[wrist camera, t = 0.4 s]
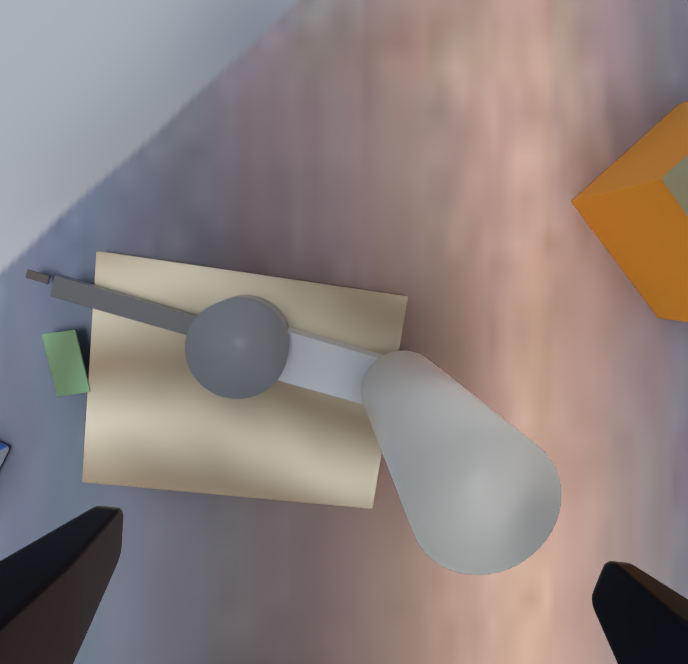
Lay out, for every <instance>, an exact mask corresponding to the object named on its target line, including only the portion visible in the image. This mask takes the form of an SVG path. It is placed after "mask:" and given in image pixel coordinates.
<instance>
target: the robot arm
mask: <svg viewBox="0 0 688 664" xmlns="http://www.w3.org/2000/svg"><path fill="white" fill-rule="evenodd" d="M122 530H123V512H122V510H121V509H120V508H116V507H107V506H96V507H94V508H92V509H90V510H88V511H86V512H85V513H83V514H81V515H79V516H78V517H76V518H74V519H72V520H71V521H69V522H67V523H66V524H64V525H62V526H60V527H59V528H57V529H55V530H53V531H52V532H50V533H48V534H46V535H45V536H43V537H41V538H39V539H38V540H36V541H34V542H32V543H31V544H29V545H27V546H26V547H24V548H22V549H20V550H19V551H17V552H15V553H13V554H12V555H10V556H8V557H6V558H5V559H3V560H1V561H0V664H73V662H74V660H75V658H76V656H77V654H78V651H79V649H80V647H81V645H82V643H83V640H84V638H85V636H86V633H87V631H88V629H89V627H90V624H91V622H92V620H93V618H94V615H95V613H96V611H97V608H98V606H99V604H100V602H101V599H102V597H103V595H104V593H105V590H106V588H107V586H108V583H109V581H110V579H111V577H112V574H113V572H114V570H115V568H116V565H117V563H118V560H119V557H120V553H121V547H122ZM592 604H593V608H594V610H595V613H596V615H597V617H598V620H599V622H600V624H601V626H602V629H603V631H604V633H605V635H606V638H607V640H608V642H609V645H610V647H611V649H612V651H613V654H614V656H615V658H616V661H617V663H618V664H688V599H686V598H685V597H683V596H681V595H680V594H678V593H677V592H675V591H674V590H672V589H670V588H669V587H667V586H666V585H664V584H662V583H661V582H659V581H658V580H656V579H655V578H653V577H651V576H650V575H648V574H647V573H645V572H643V571H642V570H640V569H639V568H637V567H636V566H634V565H632V564H630V563H626V562H616V561H609V562H607V563H606V564H605V565H604V566H603V569H602V571H601V574H600V576H599V578H598V581H597V583H596V586H595V588H594V591H593V594H592Z"/></svg>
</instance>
